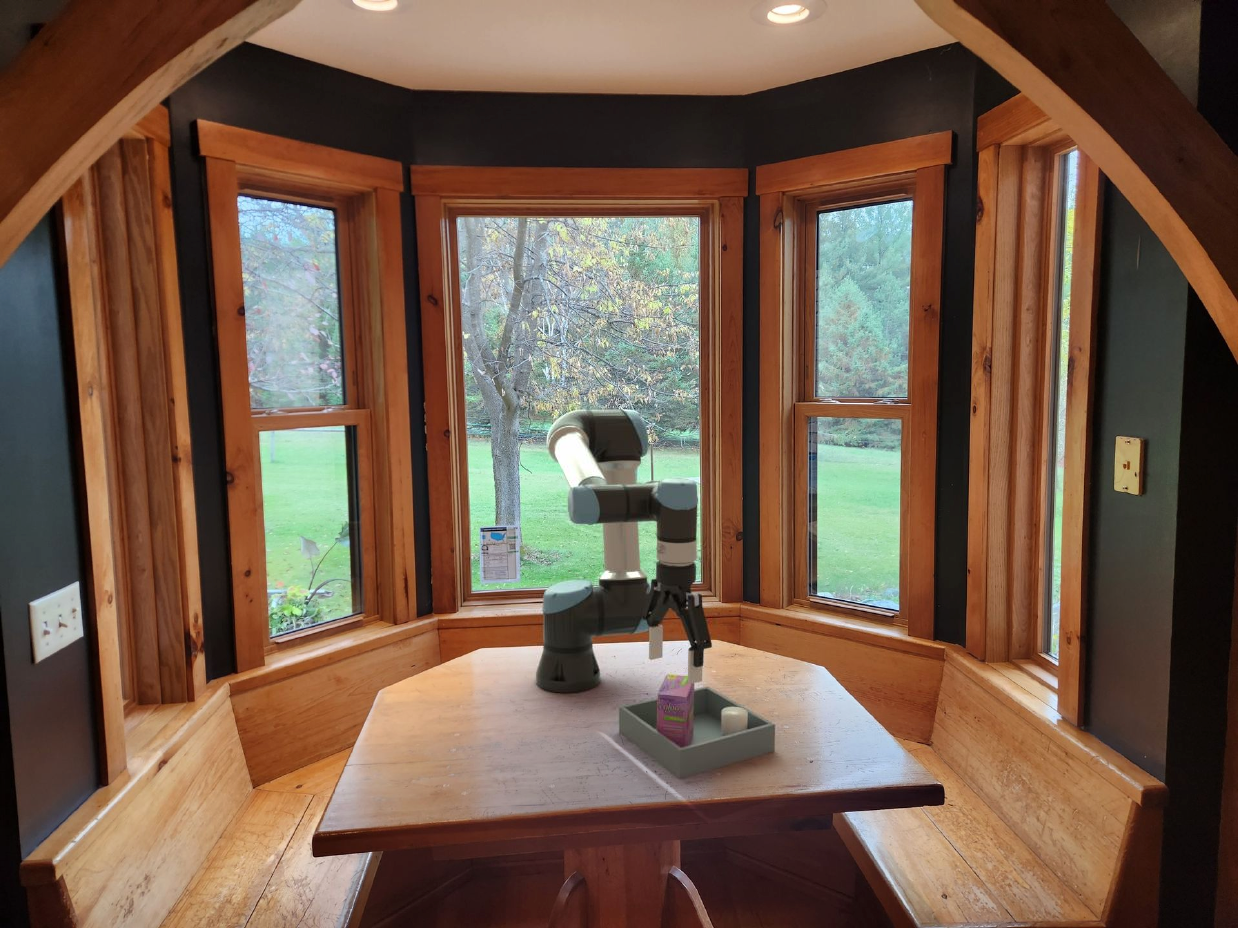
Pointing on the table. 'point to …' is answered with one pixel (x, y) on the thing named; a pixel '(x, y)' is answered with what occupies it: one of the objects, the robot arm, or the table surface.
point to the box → (676, 709)
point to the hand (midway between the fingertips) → (674, 669)
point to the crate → (697, 735)
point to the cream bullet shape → (733, 720)
